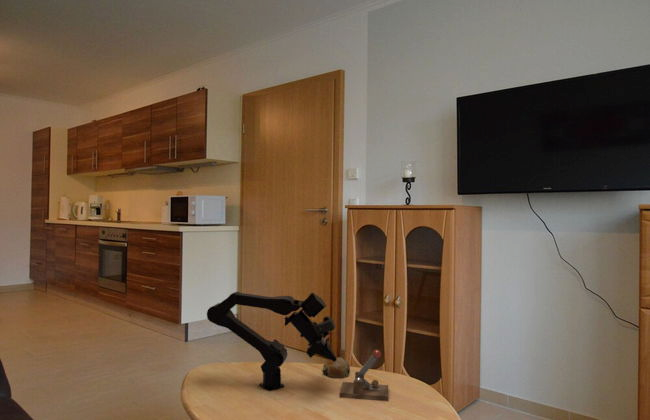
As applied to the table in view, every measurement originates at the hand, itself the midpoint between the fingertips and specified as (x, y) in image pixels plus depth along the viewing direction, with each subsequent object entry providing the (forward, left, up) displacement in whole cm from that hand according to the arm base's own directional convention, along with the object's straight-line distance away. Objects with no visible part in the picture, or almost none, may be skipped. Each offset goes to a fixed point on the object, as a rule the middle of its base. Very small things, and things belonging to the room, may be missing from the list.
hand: (335, 360), depth 157 cm
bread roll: (-12, +12, -11) cm, 20 cm away
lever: (+6, +5, -7) cm, 11 cm away
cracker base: (+8, +6, -10) cm, 15 cm away
